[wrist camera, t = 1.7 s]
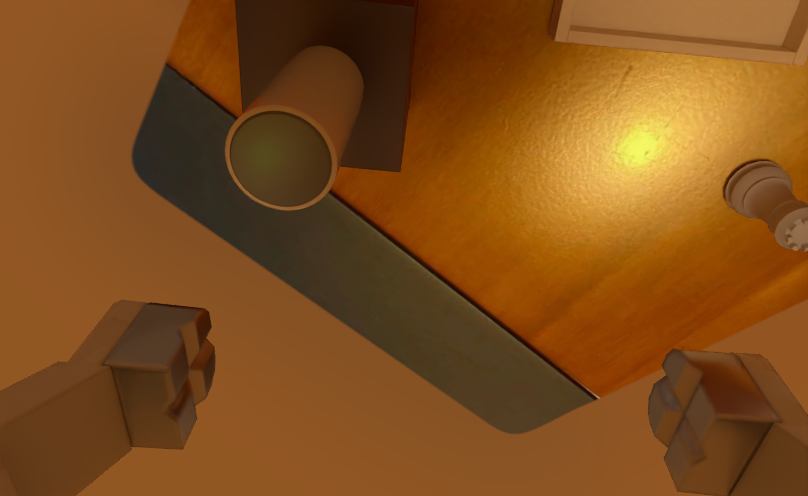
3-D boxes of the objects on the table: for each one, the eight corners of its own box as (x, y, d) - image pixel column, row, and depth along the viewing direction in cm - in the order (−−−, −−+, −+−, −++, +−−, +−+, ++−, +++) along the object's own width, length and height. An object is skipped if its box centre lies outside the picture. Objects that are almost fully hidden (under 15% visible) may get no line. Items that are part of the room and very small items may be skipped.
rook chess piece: (746, 219, 47) (798, 274, 40) (710, 189, 46) (758, 240, 39) (795, 180, 45) (859, 230, 38) (759, 147, 44) (818, 193, 37)
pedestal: (289, 95, 43) (245, 157, 33) (287, -36, 39) (234, -12, 29) (408, 107, 44) (400, 172, 33) (420, -23, 39) (415, 6, 29)
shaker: (283, 123, 32) (227, 206, 23) (281, 41, 30) (218, 100, 21) (362, 130, 32) (335, 217, 23) (366, 49, 30) (338, 112, 21)
